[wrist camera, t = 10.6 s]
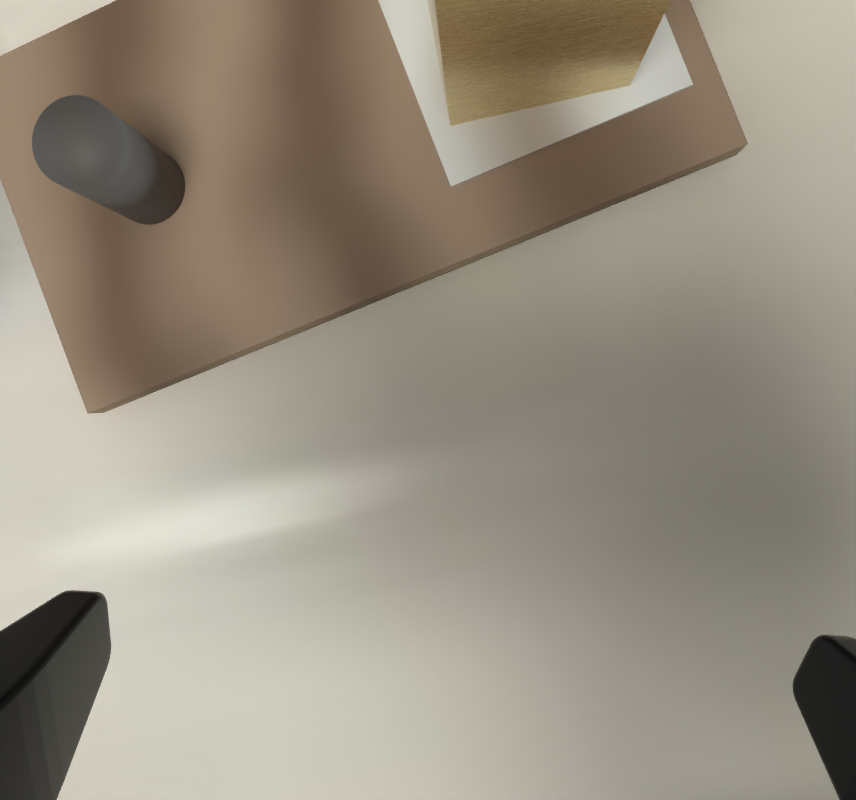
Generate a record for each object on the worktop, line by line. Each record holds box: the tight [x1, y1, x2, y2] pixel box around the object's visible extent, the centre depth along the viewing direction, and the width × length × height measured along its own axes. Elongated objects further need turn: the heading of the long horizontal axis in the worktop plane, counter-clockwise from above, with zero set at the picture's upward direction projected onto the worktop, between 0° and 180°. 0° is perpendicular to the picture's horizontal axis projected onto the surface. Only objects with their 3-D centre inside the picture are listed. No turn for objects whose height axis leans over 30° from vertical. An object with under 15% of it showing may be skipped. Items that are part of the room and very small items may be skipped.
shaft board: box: [0, 0, 748, 413], centre depth 17 cm, size 22×12×4 cm, turn 111°
